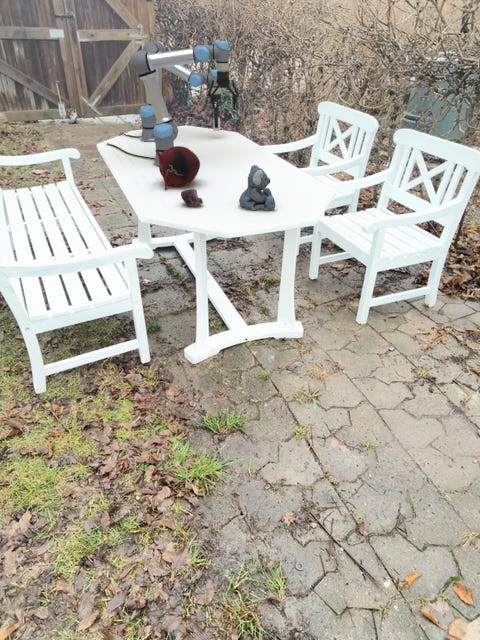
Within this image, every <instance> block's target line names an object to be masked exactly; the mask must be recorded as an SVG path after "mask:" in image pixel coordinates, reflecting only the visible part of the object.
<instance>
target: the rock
mask: <svg viewBox="0 0 480 640" xmlns="http://www.w3.org/2000/svg"><path fill="white" fill-rule="evenodd" d="M180 197H181V200H182V201H183V202H184V203H185V205H187V206H189V207H191V206H192V207H193V206H201V205H203V204H204V202H203V199H202V197H199V195H198V190H197V189H196V188H188V189H185V190H181V192H180Z"/></svg>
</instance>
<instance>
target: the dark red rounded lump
mask: <svg viewBox="0 0 480 640" xmlns="http://www.w3.org/2000/svg"><path fill="white" fill-rule="evenodd" d="M156 153H157V155H158V156H159V166H158V170H159V173H160V175H161V177H162V179H163V181H164V190H166V191H167V189H168V186H173V187H176V186H177V187H182V186H186V185H190V183H192V182H193V181H194V180H195V179H196V177H197V176H198V173H199V171H200V168H201V161H200V159H199V157H198V156H197V154H196V153H194V152H193V151H192V150H191V149H190V148H188V147H186V146H182V145H176V146H175V145H174V147H171V148H169V149H168V150H166V151H164V152H163V153H162V154H160V153H159V152H158V151H157V150H156V149H155V154H156Z"/></svg>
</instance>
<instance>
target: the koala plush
mask: <svg viewBox="0 0 480 640" xmlns="http://www.w3.org/2000/svg"><path fill="white" fill-rule="evenodd" d="M270 183H271V178H269V176H268V175H267V173H266V172H265V170H264V169H263V168H261V167H259V165H257V164H253V165H250V170H249V173H248V176H247V188H246V189H245V190H244V191H243V192H242V193H241V194H240V197H239V199H238V203H239V204H240V206H241V207H242V208H246V209H247V210H252V211H255V210H261V211H272V210H274V209H275V208H276V200H275V198H274V196H273V194H272V191H271V188H270V187H268V186H269V185H270Z"/></svg>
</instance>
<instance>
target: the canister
mask: <svg viewBox="0 0 480 640" xmlns="http://www.w3.org/2000/svg"><path fill="white" fill-rule="evenodd" d="M212 119H213V120H212V128H213V131H214V132H220V131H221V117H218V128H215V122H214V117H213V118H212Z"/></svg>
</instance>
